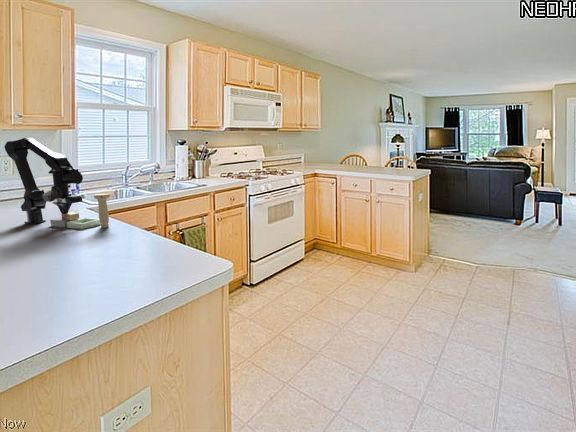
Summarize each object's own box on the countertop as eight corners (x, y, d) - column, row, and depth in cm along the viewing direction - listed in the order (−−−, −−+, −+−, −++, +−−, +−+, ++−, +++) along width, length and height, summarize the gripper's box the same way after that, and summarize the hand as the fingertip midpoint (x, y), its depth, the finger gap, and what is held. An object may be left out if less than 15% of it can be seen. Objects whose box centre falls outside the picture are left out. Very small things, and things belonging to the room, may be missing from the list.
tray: (67, 227, 179) (66, 222, 178) (85, 223, 188) (85, 217, 187) (82, 229, 175) (82, 223, 175) (100, 224, 184) (100, 219, 184)
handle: (112, 227, 178) (109, 194, 175) (96, 228, 175) (93, 195, 172) (112, 225, 182) (109, 193, 179) (97, 226, 180) (94, 194, 177)
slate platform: (51, 226, 182) (50, 219, 181) (64, 223, 188) (63, 216, 188) (65, 227, 178) (64, 221, 178) (78, 224, 185) (77, 218, 184)
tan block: (62, 219, 181) (61, 214, 181) (71, 217, 186) (70, 212, 185) (70, 220, 179) (69, 214, 179) (79, 218, 184) (78, 213, 183)
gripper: (29, 184, 177) (34, 218, 180) (59, 186, 170) (63, 221, 173) (52, 182, 187) (56, 214, 190) (81, 183, 180) (85, 216, 183)
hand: (64, 216), depth 184 cm, fingers closed
